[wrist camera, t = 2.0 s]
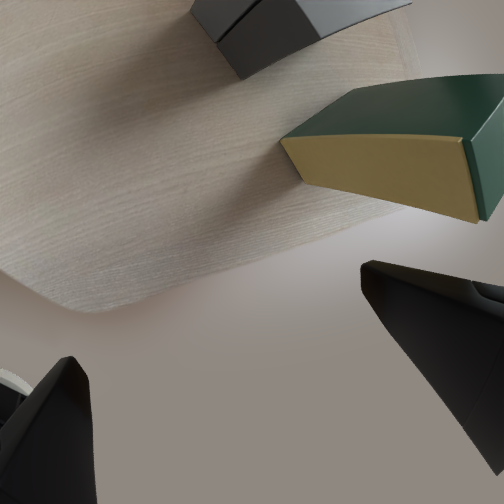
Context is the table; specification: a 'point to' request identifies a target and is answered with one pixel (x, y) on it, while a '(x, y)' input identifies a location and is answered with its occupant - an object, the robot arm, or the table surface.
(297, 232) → the table surface
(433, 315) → the robot arm
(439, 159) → the green book
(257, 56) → the grey grooved block
